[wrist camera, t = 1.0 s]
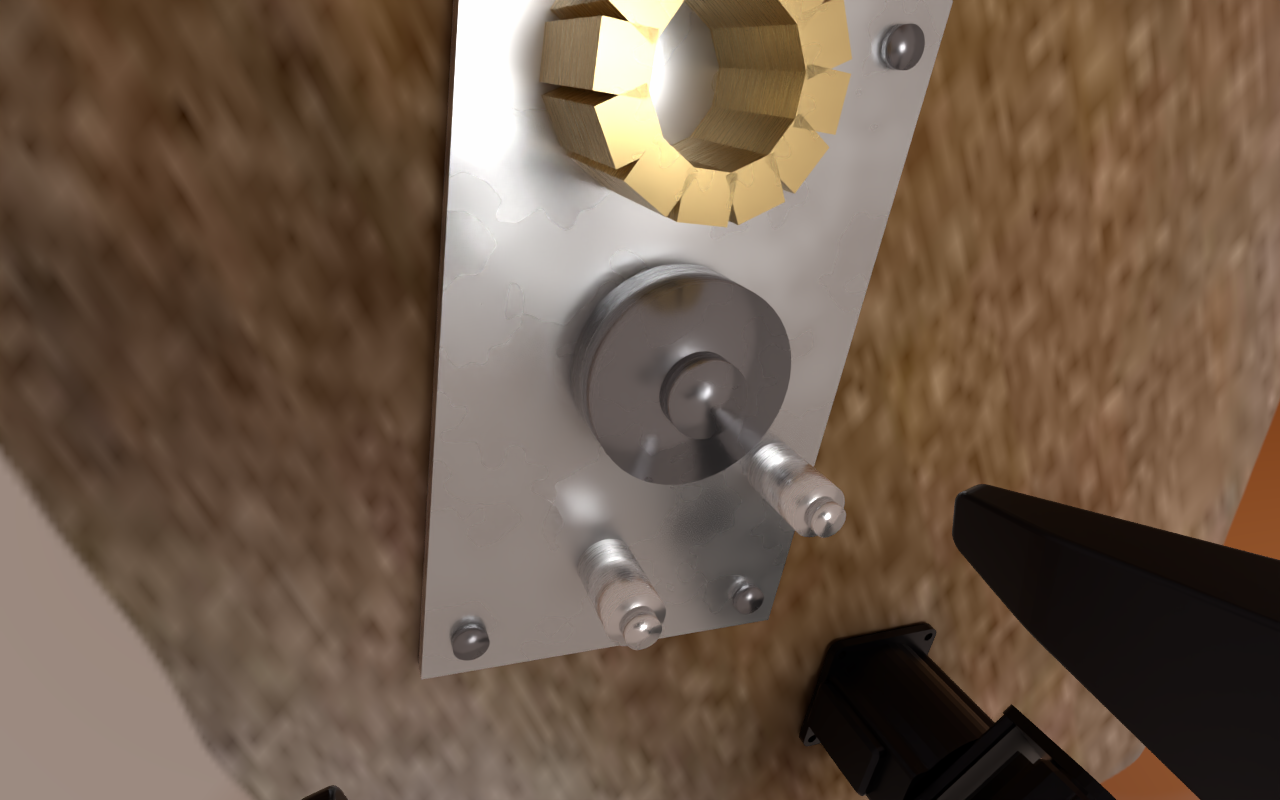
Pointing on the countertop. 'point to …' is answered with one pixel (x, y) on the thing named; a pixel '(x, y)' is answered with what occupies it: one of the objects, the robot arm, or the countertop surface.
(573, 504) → the carrier plate
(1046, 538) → the robot arm
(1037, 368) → the countertop surface
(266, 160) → the countertop surface
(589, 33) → the planet gear
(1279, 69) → the countertop surface
